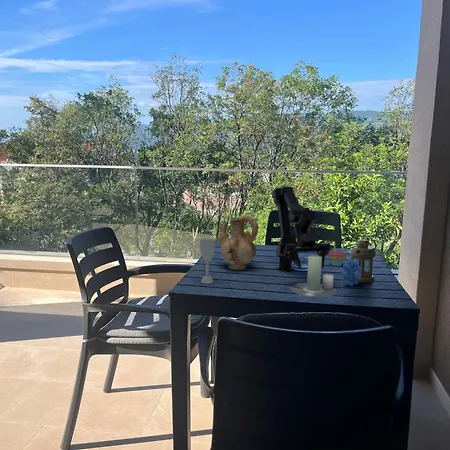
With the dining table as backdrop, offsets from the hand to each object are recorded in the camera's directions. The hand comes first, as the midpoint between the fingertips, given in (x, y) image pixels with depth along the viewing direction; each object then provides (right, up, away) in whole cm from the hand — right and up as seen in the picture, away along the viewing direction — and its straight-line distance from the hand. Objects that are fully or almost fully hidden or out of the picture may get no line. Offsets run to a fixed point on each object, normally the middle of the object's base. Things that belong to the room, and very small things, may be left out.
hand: (311, 268), depth 179 cm
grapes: (+17, -9, +6) cm, 20 cm away
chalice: (-41, -7, +10) cm, 43 cm away
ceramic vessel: (-28, -3, +34) cm, 45 cm away
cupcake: (+20, -3, +42) cm, 46 cm away
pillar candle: (0, -8, -1) cm, 8 cm away
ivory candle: (+6, -8, +1) cm, 10 cm away
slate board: (0, -9, -1) cm, 9 cm away
